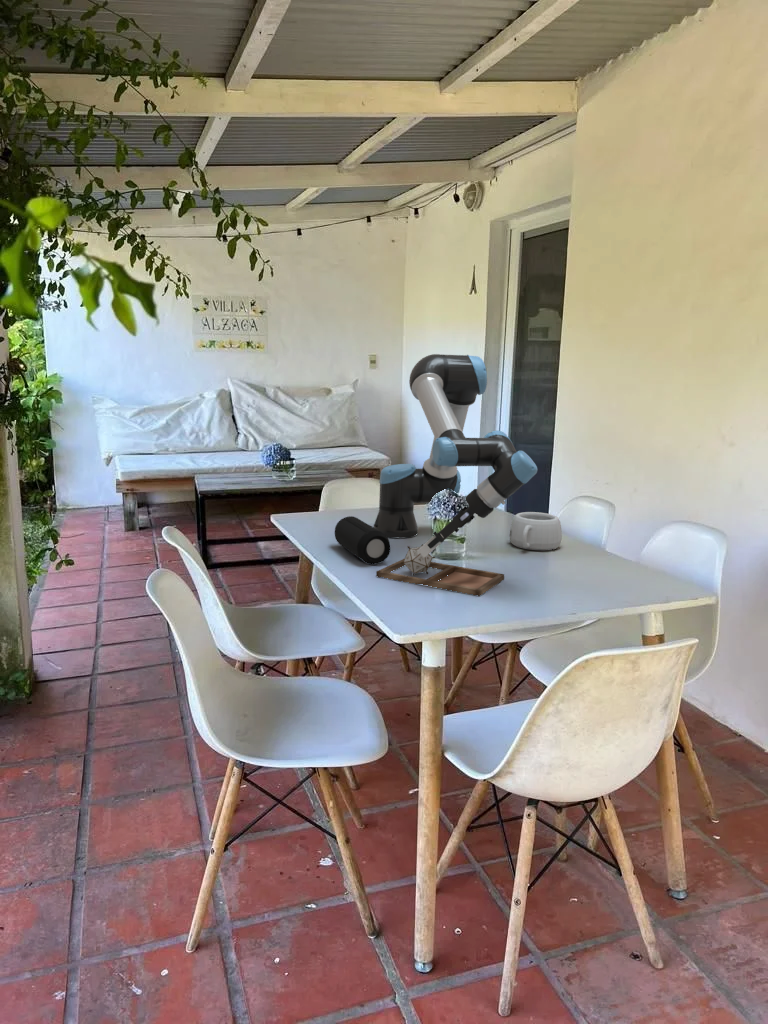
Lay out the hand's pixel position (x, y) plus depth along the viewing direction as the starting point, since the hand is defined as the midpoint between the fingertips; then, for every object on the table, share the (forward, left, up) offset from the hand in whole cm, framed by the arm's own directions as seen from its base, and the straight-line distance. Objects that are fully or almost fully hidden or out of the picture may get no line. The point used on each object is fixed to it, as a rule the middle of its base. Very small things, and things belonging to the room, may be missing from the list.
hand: (427, 548), depth 205 cm
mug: (+14, +50, -8) cm, 53 cm away
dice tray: (+4, 0, -8) cm, 9 cm away
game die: (-3, 0, -8) cm, 9 cm away
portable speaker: (-26, +9, -8) cm, 29 cm away
